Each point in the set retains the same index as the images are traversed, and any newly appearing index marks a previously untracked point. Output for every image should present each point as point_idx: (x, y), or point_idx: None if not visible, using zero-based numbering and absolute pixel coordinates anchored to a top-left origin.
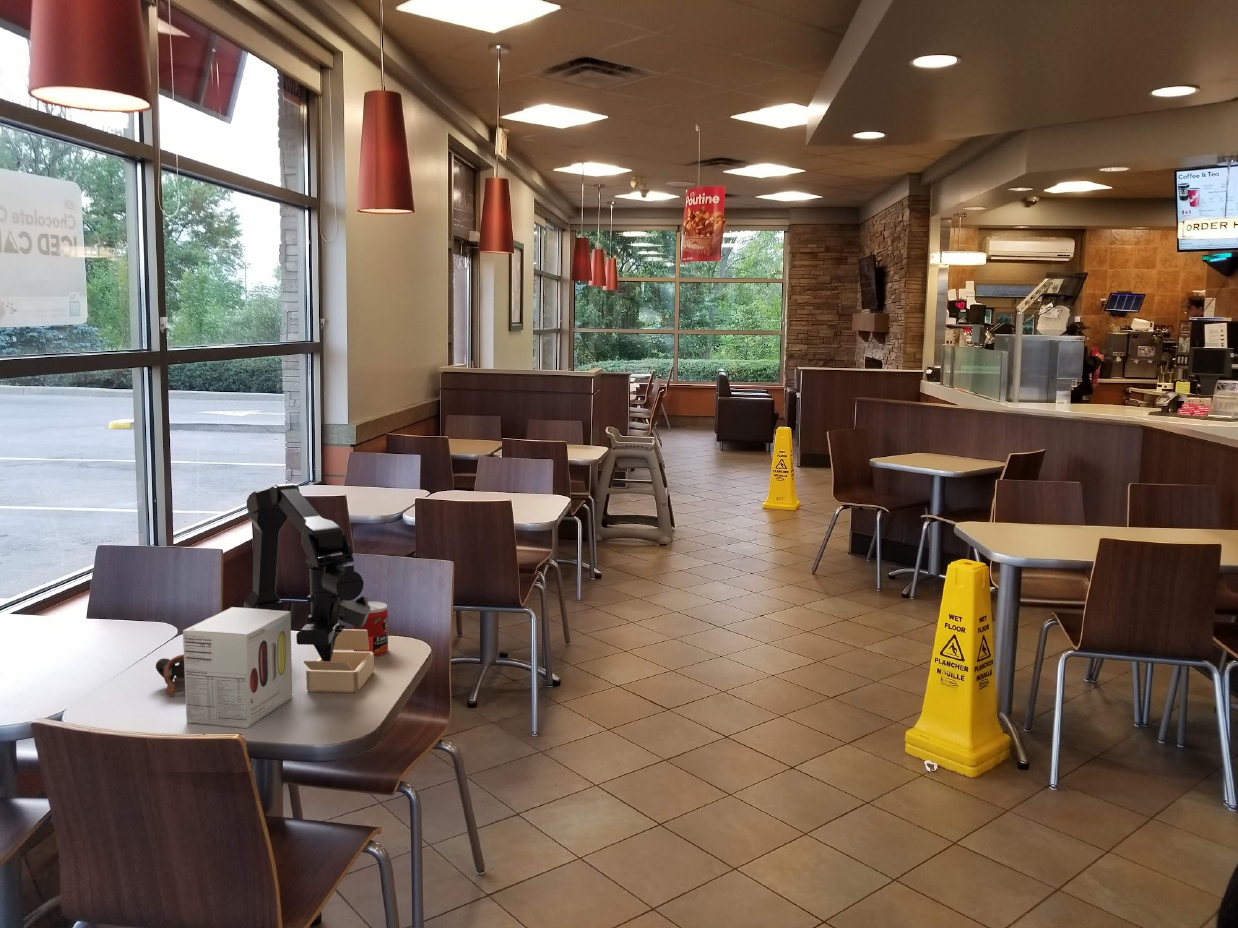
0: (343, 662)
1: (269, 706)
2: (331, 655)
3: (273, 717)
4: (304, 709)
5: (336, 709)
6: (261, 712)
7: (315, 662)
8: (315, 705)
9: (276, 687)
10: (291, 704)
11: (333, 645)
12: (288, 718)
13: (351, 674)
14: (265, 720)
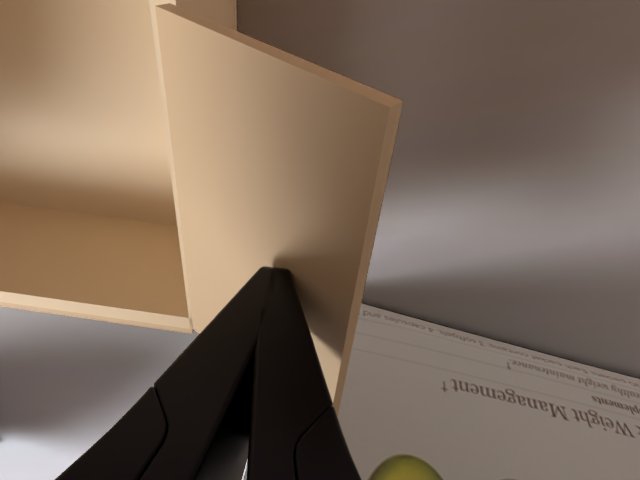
0: (388, 147)
1: (546, 373)
2: (256, 319)
3: (580, 325)
4: (510, 220)
5: (579, 28)
6: (613, 389)
7: (343, 382)
8: (457, 174)
9: (482, 422)
10: (415, 281)
11: (202, 418)
12: (626, 271)
13: (188, 4)
14: (608, 346)
